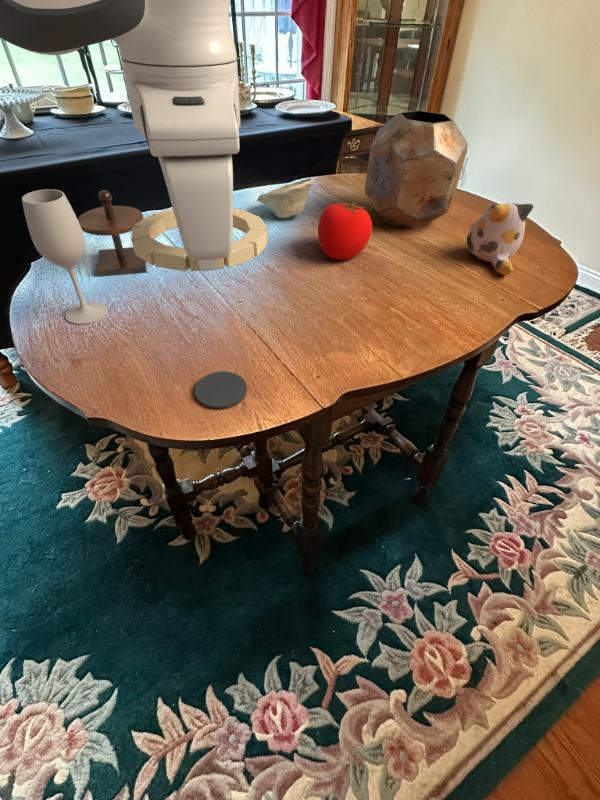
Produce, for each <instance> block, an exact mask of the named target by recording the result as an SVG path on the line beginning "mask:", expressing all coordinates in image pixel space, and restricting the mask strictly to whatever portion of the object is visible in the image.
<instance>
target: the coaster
mask: <svg viewBox="0 0 600 800" xmlns="http://www.w3.org/2000/svg"><path fill="white" fill-rule="evenodd" d="M247 392H248V386H247V382H246V381H245V379H244V378H243V377H242V376H240V375H239V374H237V373H234V372H232V371H224V370H223V371H222V370H221V371H214V372H211V373H208V374H206V375H204V376H202V377H201V378H200V379H199V380H198V381H197V382H196V384H195V386H194V397H195V399H196V400H197V402H198V403H199V404H200V405H201V406H203V407H205V408H208V409H211V410H226V409H230V408H233V407H235V406H237V405H238V404H240V403H241V402H243V400H244V399H245V398H246V396H247Z"/></svg>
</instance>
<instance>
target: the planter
mask: <svg viewBox="0 0 600 800" xmlns="http://www.w3.org/2000/svg"><path fill="white" fill-rule="evenodd" d="M468 147H469V145H468V141H467V140H466V139H465V137H464V135H463V134H462V132H461V130H460V129H459V127H458V125H457V124H456V122H455V120H454V119H452V118H451V117H449V116H448V115H447V114H445V113H439V112H431V111H424V110H410V111H402V112H398V113H397V114H395V115H394V116H393V117H392V118H390V119H389V120H388V121H387V122H386V123H384V124H383V125H382V126H380V127H379V128H378V129H377V132H376V134H375V136H374V139H373V141H372V143H371V145H370V148H369V154H368V160H367V161H368V162H367V170H366V176H365V177H366V178H365V184H364V193H365V195H366V197H367V198H368V200H369V201H370V202H371V205H372V206H373V208H374V210H375V211H376V212H377V214H378V215H379V216H380V217H381V219H383V221H384V222H385V224H388V225H393V226H397V227H403V228H407V229H414V228H418V227H421V226H425V225H429V224H431V223H432V222H434V221H435V220H437V219H439V218H441V217H442V216H444V215H446V214H447V213H449V212H450V209H451V206H452V204H453V200H454V198H455V195H456V192H457V188H458V185H459V182H460V179H461V174H462V170H463V167H464V164H465V160H466V157H467V153H468Z"/></svg>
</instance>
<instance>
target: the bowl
mask: <svg viewBox="0 0 600 800" xmlns="http://www.w3.org/2000/svg"><path fill="white" fill-rule="evenodd" d="M314 183H315V181H314V179H312V178H310V177H309V178H305V179H302V180H299V181H296V182H293V183H290V184H285V185H283V186H280V187H279V188H275V189H272V190H270V191H268V192H266V193H262V194H260V195H258V197H257V199H256V201H257V202H259V203H261V204H263V205H264V206H266V207H268V208H269V209H270V210H271V211H272V213H274V215H275V216H276V217H277V218H278V219H287V218H291V217H294V216H295V215H298V214H300V213H302V212H303V210H304V208H305V207H304V206H305V204H306V201H307V199H308V196H309V192H310V190H311V187H312V185H313V184H314Z"/></svg>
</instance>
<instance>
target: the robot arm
mask: <svg viewBox="0 0 600 800" xmlns="http://www.w3.org/2000/svg"><path fill="white" fill-rule="evenodd" d="M230 7H231V0H0V39H2V40H3V41H5V42H7V43H9V44H11V45H13V46H16V47H18V48H20V49H23V50H26V51H28V52H31V53H36V54H40V55H47V56H61V55H66V54H71V53H74V52H77V51H79V50H81V49H83V48H85V47H88V46H92V45H95V44H96V45H97V44H101V43H103V42H106V41H109V40H112V41H114V43H115V44H116V46H117V48H118V52H119V56H120V62H121V68H122V71H123V76H124V82H125V86H126V91H127V96H128V101H129V106H130V110H131V116H132V121H133V125H134V126H133V127H134V128H135V129H136V131H138V132H139V133H140V134H142V136H143V138H144V139H145V140H146V142H147V146H148V149H149V151H150V154H151V155H152V156H153V157H155V158H156V157H157V159H158V162H159V164H160V168H161V171H162V174H163V178H164V182H165V186H166V189H167V192H168V197H169V200H170V204H171V207H172V208H171V209H173V211H174V215H175V219H176V222H177V226H178V228H177V229H178V232H179V237H180V239H181V243H182V246H183V248H184V249H185V252H186V254H187V256H188V257H189V259H191V260H197V261H198V267H199V269H200V270H201V271H200V272H210V271H215V270H217V269H216V259H220V258H226V257H228V256H229V255H230V252H231V247H232V242H233V238H234V237H233V236H234V227H233V208H234V170H233V156H232V155H236V154H237V155H238V153H239V152H240V149H241V147H240V130H239V129H240V128H241V123H242V122H241V110H240V108H241V106H240V90H239V88H240V87H239V71H238V55H237V49H236V44H235V41H234V38H233V34H232V28H231V22H230V21H231V20H230V18H231V17H230Z"/></svg>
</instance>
